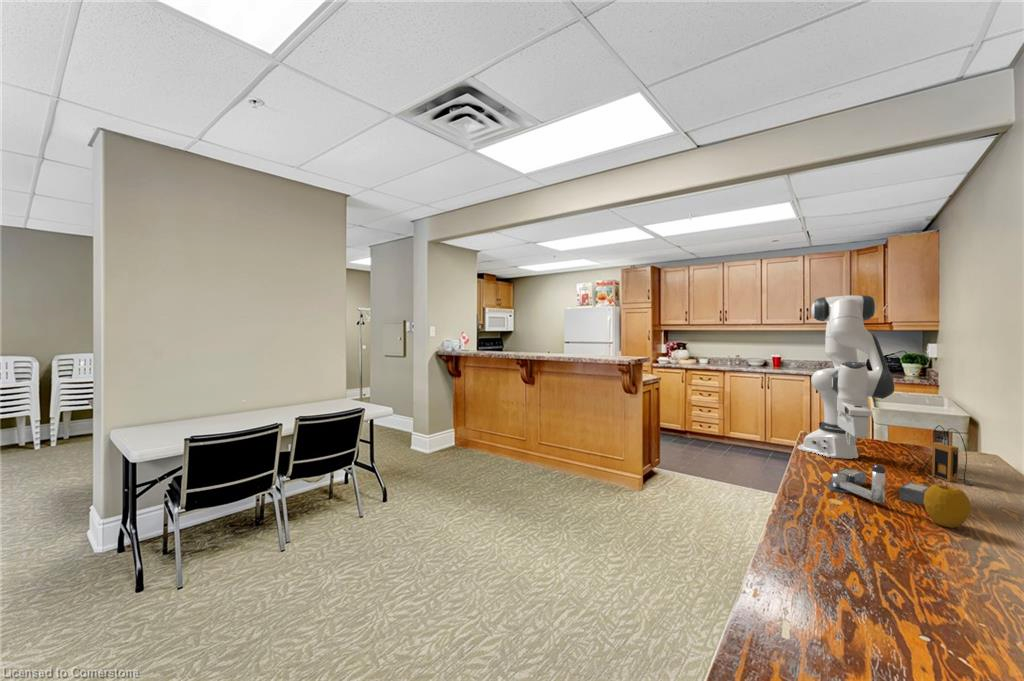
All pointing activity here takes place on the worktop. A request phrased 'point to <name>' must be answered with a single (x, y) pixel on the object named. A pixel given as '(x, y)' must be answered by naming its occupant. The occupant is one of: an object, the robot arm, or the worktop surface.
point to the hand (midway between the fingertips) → (851, 444)
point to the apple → (947, 505)
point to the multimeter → (946, 460)
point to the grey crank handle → (874, 495)
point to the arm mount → (837, 489)
